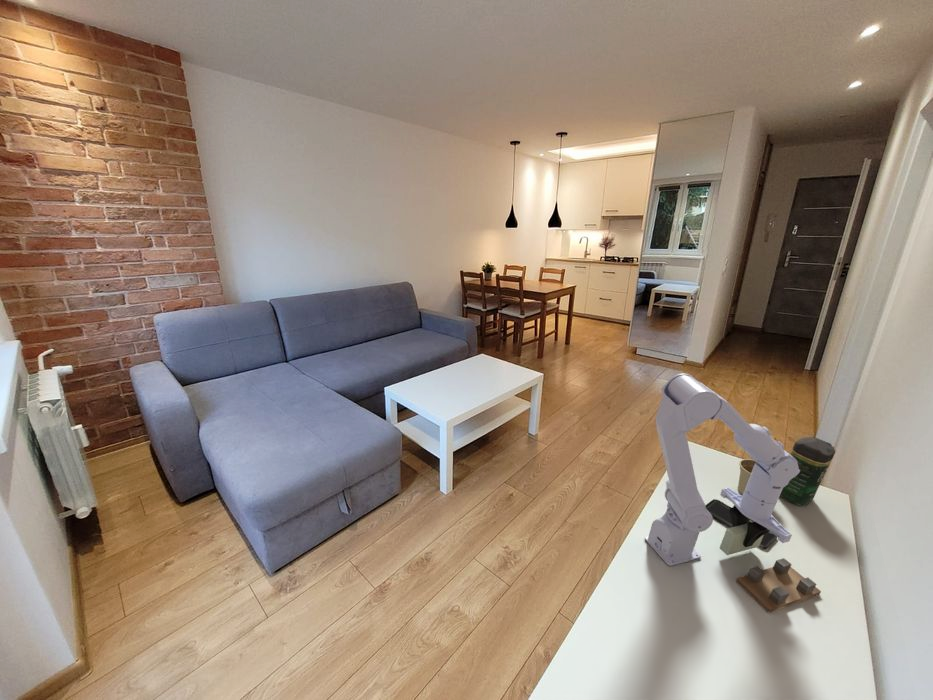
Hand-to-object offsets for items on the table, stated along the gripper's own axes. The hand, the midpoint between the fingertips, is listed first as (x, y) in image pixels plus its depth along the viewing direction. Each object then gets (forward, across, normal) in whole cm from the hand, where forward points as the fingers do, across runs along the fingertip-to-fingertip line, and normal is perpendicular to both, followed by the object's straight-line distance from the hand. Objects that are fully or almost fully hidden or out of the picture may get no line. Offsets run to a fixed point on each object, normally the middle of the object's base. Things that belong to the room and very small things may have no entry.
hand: (742, 540), depth 85 cm
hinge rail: (+4, -9, 0) cm, 10 cm away
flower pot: (+4, +15, -24) cm, 29 cm away
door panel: (+2, 0, 0) cm, 2 cm away
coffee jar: (+4, +11, -36) cm, 38 cm away
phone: (+4, +7, -9) cm, 12 cm away
